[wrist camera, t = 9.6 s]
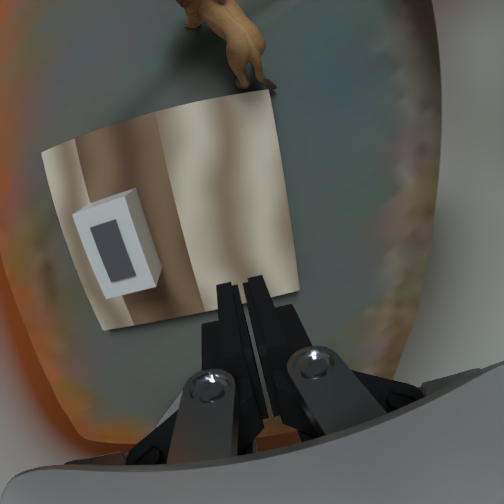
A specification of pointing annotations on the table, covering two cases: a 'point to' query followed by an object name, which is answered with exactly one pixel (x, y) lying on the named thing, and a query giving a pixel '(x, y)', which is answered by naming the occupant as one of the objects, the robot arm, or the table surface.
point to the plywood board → (185, 202)
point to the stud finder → (119, 244)
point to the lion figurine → (231, 35)
